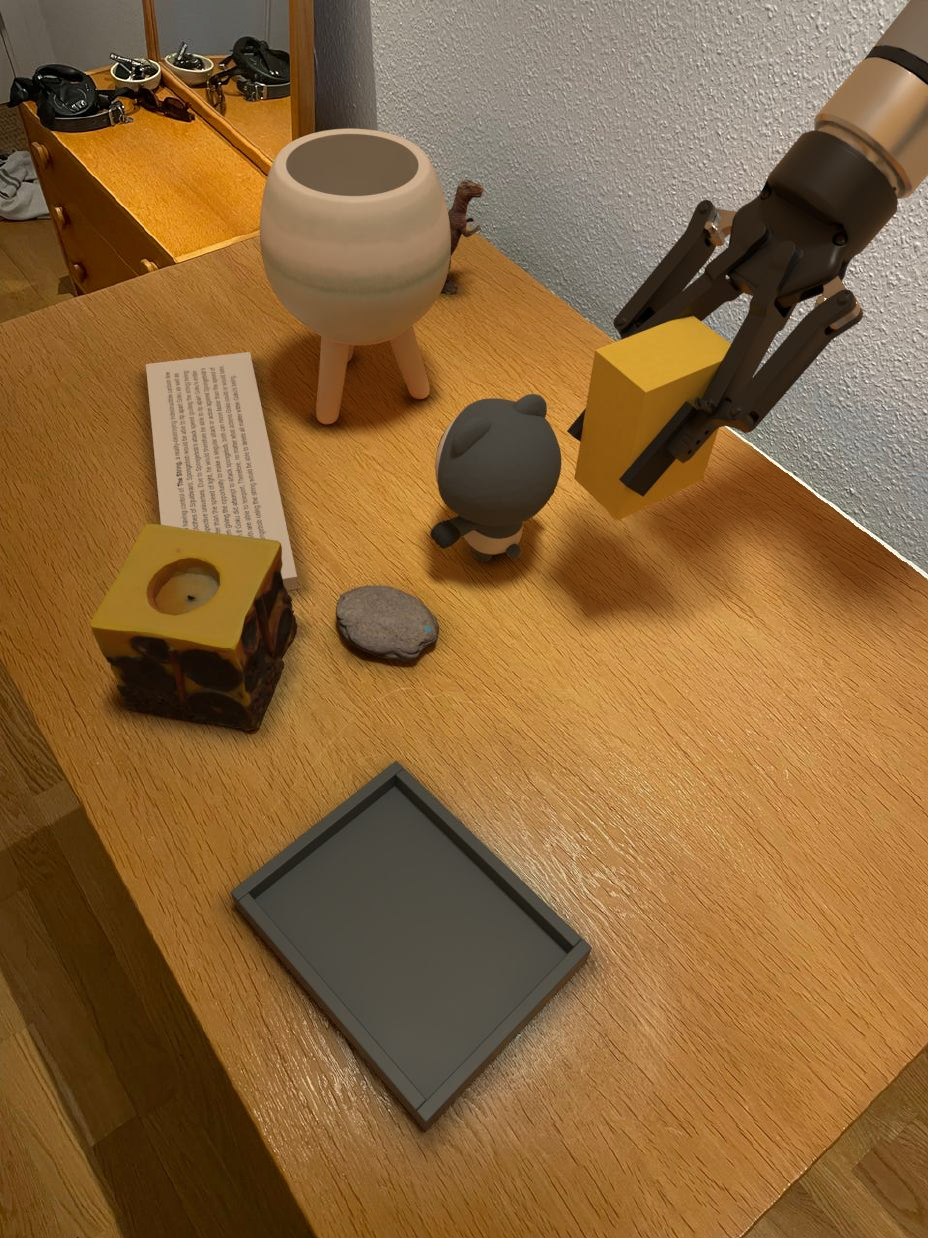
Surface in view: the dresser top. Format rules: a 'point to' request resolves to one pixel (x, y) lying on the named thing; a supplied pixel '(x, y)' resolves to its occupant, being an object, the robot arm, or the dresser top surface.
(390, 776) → the tray
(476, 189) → the dinosaur model
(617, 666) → the dresser top surface
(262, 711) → the candle
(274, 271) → the planter
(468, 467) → the toy
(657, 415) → the yellow block
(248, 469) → the plaque
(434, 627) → the stone
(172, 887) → the dresser top surface
